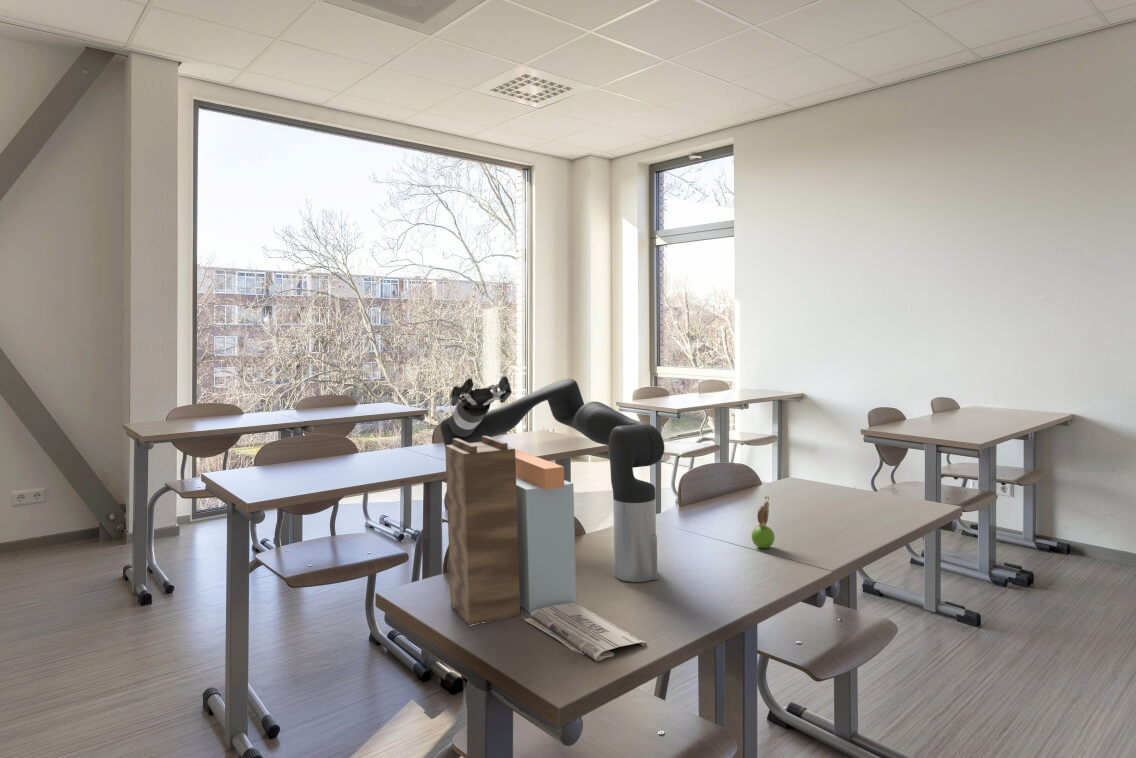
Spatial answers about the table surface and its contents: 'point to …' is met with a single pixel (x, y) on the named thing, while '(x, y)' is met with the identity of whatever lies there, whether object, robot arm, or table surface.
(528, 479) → the beam
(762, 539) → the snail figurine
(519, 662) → the table surface
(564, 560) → the short post
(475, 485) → the tall post
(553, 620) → the newspaper
